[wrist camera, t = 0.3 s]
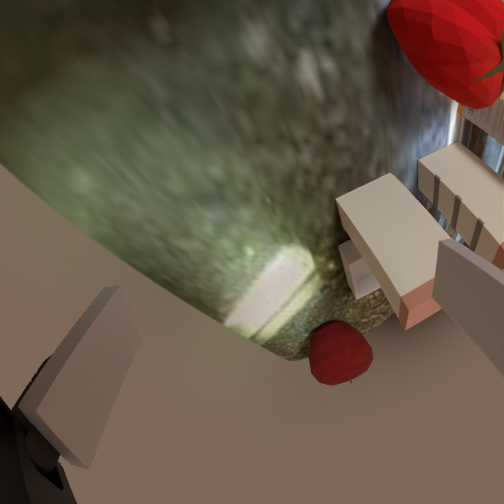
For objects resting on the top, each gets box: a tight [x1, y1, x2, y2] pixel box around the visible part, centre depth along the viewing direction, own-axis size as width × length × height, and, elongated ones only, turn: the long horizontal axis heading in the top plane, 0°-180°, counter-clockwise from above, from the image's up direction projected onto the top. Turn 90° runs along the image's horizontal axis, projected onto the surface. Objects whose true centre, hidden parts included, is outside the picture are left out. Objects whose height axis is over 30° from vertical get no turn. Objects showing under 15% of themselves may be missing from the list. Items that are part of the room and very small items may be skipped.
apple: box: [309, 321, 373, 385], centre depth 47 cm, size 11×11×12 cm
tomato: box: [386, 0, 504, 110], centre depth 13 cm, size 11×13×10 cm
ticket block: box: [418, 141, 504, 272], centre depth 24 cm, size 5×7×15 cm, turn 114°
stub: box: [336, 173, 451, 330], centre depth 25 cm, size 4×7×14 cm, turn 114°
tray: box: [338, 239, 380, 300], centre depth 36 cm, size 10×12×3 cm
